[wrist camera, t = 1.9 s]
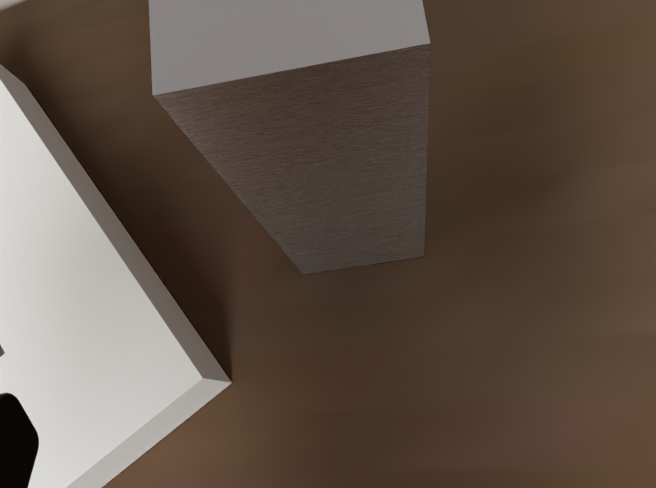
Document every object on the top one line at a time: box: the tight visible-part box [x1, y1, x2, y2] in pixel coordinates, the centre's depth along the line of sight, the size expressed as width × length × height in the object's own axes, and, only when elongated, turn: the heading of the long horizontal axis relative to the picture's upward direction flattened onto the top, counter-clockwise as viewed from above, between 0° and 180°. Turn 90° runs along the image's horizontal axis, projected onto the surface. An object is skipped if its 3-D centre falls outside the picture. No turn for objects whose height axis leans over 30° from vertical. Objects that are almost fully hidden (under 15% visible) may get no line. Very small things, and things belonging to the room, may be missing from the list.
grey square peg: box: [149, 0, 430, 275], centre depth 16 cm, size 4×4×13 cm
